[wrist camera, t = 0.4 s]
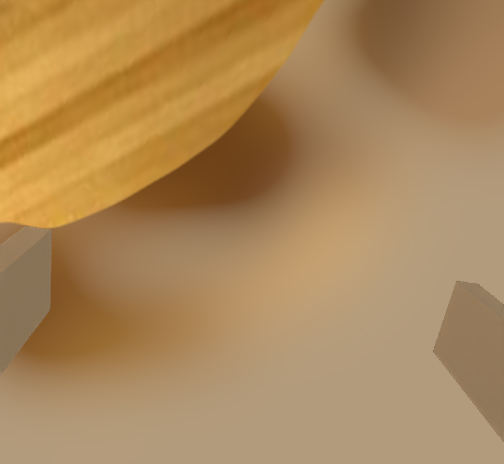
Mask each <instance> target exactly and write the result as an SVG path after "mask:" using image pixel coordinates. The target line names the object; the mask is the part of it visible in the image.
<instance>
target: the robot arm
mask: <svg viewBox="0 0 504 464" xmlns="http://www.w3.org/2000/svg"><path fill="white" fill-rule="evenodd" d="M51 235H52V229H45V228H37V227H29V226H25V227H23V228H22V229H21V230H19V231H18V232H16V233H15V234H14V235H12V236H11V237H10V238H8V239H7V240H6V241H4V242H3V243H2V244H0V375H1V374H2V372H3V371H4V370H5V368H6V367H7V366H8V364H9V363H10V362H11V360H12V359H13V358H14V357H15V355H16V354H17V353H18V351H19V350H20V349H21V347H22V346H23V345H24V343H25V342H26V341H27V339H28V338H29V337H30V335H31V334H32V333H33V331H34V330H35V329H36V327H37V326H38V325H39V324H40V322H41V321H42V320H43V318H44V317H45V316H46V314H47V313H48V312H49V310H50V284H51V283H50V282H51V237H52V236H51ZM433 352H434V353H435V355H437V357H438V358H439V360H440V361H441V362H442V363H443V365H444V366H445V367H446V369H447V370H448V371H449V373H450V374H451V375H452V376H453V378H454V379H455V380H456V382H457V383H458V384H459V385H460V386H461V388H462V389H463V391H464V392H465V393H466V394H467V395H468V397H469V398H470V399H471V401H472V402H473V403H474V405H475V406H476V407H477V409H478V410H479V411H480V412H481V414H482V415H483V416H484V418H485V419H486V420H487V421H488V423H489V424H490V425H491V427H492V428H493V429H494V430H495V432H496V433H497V434H498V436H499V437H500V438H501V439H502V441H503V442H504V304H502V303H501V302H500V301H499V300H497V299H496V298H495V297H494V296H492V295H491V294H490V293H489V292H487V291H486V290H485V289H484V288H482V287H481V286H480V285H478V284H476V283H467V282H459V281H456V284H455V287H454V290H453V293H452V296H451V299H450V302H449V305H448V308H447V311H446V314H445V317H444V320H443V323H442V326H441V329H440V332H439V335H438V338H437V341H436V344H435V347H434V350H433Z"/></svg>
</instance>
